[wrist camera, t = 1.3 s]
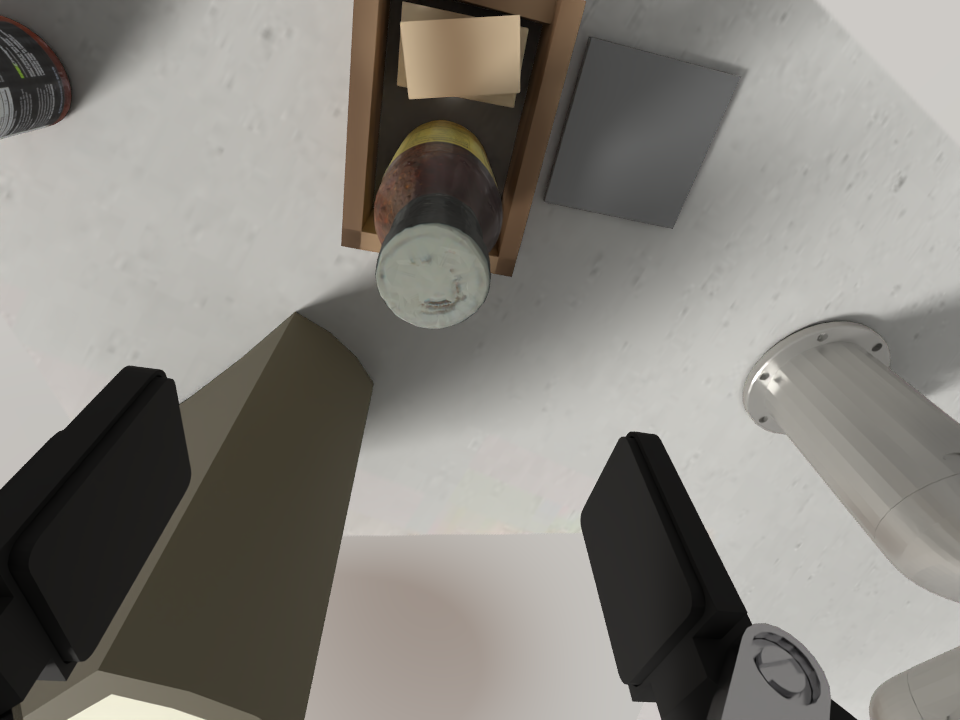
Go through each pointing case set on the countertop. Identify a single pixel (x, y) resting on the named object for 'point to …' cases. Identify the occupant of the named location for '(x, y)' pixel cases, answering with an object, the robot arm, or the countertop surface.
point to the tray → (560, 15)
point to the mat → (636, 133)
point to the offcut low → (427, 13)
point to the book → (237, 548)
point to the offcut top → (462, 56)
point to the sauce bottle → (437, 226)
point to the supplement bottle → (29, 82)
